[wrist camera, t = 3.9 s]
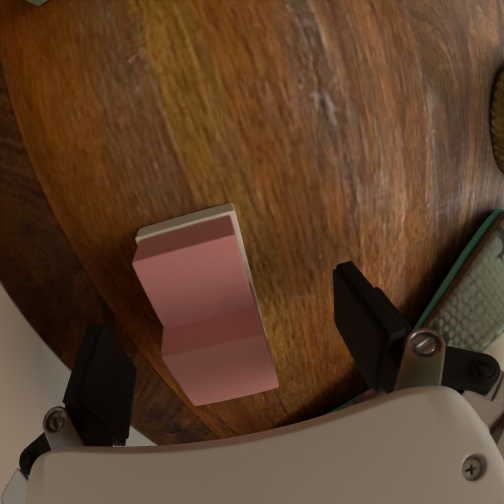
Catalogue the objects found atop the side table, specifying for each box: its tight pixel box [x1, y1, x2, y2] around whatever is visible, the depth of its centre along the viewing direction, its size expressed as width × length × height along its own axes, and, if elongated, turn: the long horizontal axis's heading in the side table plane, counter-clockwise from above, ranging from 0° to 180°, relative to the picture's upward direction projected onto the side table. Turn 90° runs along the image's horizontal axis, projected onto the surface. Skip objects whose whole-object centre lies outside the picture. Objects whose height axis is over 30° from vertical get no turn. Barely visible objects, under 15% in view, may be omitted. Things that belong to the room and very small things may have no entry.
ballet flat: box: [325, 209, 504, 432], centre depth 15 cm, size 10×30×11 cm, turn 145°
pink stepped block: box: [132, 203, 279, 406], centre depth 11 cm, size 7×4×4 cm, turn 12°
